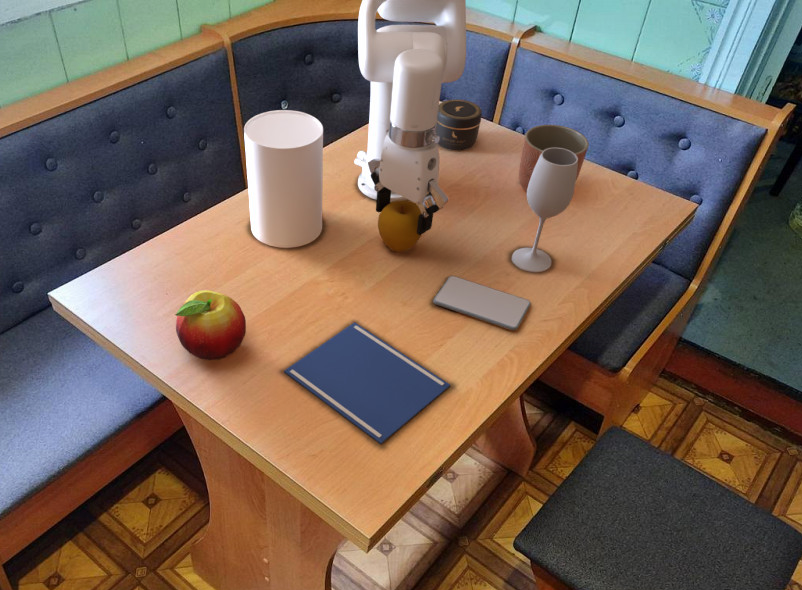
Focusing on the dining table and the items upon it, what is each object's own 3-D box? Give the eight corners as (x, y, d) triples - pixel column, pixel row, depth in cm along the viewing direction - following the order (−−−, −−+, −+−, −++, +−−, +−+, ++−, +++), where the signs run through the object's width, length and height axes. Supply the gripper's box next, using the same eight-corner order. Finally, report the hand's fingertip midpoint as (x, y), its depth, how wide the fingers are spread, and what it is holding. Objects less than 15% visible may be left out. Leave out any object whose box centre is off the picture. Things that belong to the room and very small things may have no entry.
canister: (280, 256, 132) (276, 157, 118) (237, 223, 139) (228, 125, 125) (336, 229, 139) (339, 131, 124) (292, 199, 145) (290, 103, 131)
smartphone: (450, 274, 129) (532, 300, 124) (449, 278, 129) (531, 304, 124) (431, 300, 123) (516, 329, 119) (431, 304, 124) (515, 333, 119)
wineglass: (552, 275, 131) (584, 171, 115) (509, 269, 131) (535, 165, 116) (552, 251, 136) (582, 148, 121) (511, 245, 137) (536, 142, 121)
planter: (517, 168, 156) (528, 120, 148) (576, 177, 154) (590, 129, 146) (511, 198, 148) (522, 149, 140) (572, 209, 146) (587, 159, 138)
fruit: (259, 354, 114) (256, 306, 107) (196, 380, 110) (188, 331, 103) (229, 315, 121) (223, 267, 113) (168, 338, 116) (158, 290, 109)
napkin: (283, 372, 112) (283, 370, 112) (354, 323, 120) (354, 321, 120) (380, 444, 103) (381, 442, 102) (450, 386, 111) (450, 384, 110)
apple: (398, 227, 140) (401, 186, 134) (431, 246, 136) (437, 205, 129) (367, 244, 136) (369, 204, 129) (400, 265, 132) (404, 224, 125)
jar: (430, 149, 161) (434, 117, 155) (434, 128, 168) (438, 96, 162) (475, 154, 160) (481, 121, 154) (477, 133, 167) (483, 100, 161)
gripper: (468, 142, 116) (453, 232, 129) (387, 106, 124) (381, 193, 137) (439, 159, 112) (426, 249, 125) (357, 120, 121) (353, 208, 133)
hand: (402, 220), depth 131 cm, fingers open, 9 cm apart
